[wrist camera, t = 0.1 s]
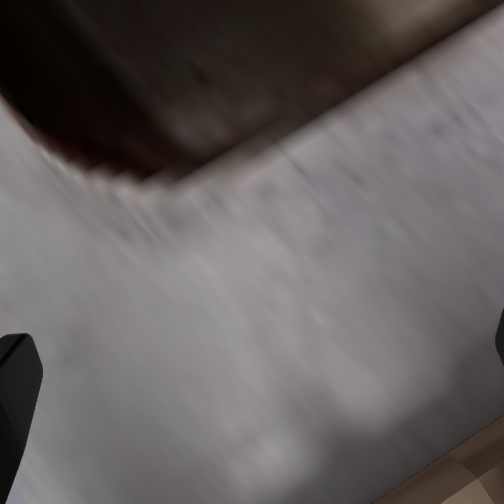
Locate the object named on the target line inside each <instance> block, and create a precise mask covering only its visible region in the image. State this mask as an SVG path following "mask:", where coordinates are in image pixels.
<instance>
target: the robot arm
mask: <svg viewBox="0 0 504 504" xmlns="http://www.w3.org/2000/svg"><path fill="white" fill-rule="evenodd" d="M495 346H496V349H497V352H498V354H499V357H500V359H501V361H502V363H503V366H504V308H503V311H502V314H501V317H500V321H499V325H498V328H497V332H496V335H495ZM42 378H43V367H42V363H41V360H40V358H39V355H38V352H37V349H36V346H35V343H34V340H33V338H32V337H31V335H29V334H27V333H19V334H7V335H5V336H3V337H1V338H0V504H5V503H6V501H7V498H8V495H9V493H10V490H11V487H12V484H13V482H14V479H15V476H16V474H17V471H18V468H19V465H20V462H21V459H22V456H23V454H24V450H25V446H26V443H27V439H28V435H29V431H30V427H31V423H32V419H33V415H34V411H35V406H36V402H37V398H38V394H39V390H40V386H41V382H42Z"/></svg>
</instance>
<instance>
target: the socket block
mask: <svg viewBox="0 0 504 504" xmlns="http://www.w3.org/2000/svg"><path fill="white" fill-rule="evenodd" d="M372 504H504V415H503V416H501V417H500V418H498V419H497V420H495V421H494V422H493V423H491V424H490V425H488V426H487V427H485V428H484V429H482V430H481V431H479V432H478V433H476V434H475V435H473V436H472V437H470V438H469V439H467V440H466V441H464V442H463V443H461V444H460V445H458V446H457V447H455V448H454V449H452V450H451V451H449V452H448V453H446V454H445V455H443V456H442V457H440V458H439V459H437V460H436V461H434V462H433V463H431V464H430V465H428V466H427V467H425V468H424V469H422V470H421V471H420V472H418V473H417V474H415V475H414V476H412V477H411V478H409V479H408V480H406V481H405V482H403V483H402V484H400V485H399V486H397V487H396V488H394V489H393V490H391V491H390V492H388V493H387V494H385V495H384V496H382V497H381V498H379V499H378V500H376V501H375V502H373V503H372Z"/></svg>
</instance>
